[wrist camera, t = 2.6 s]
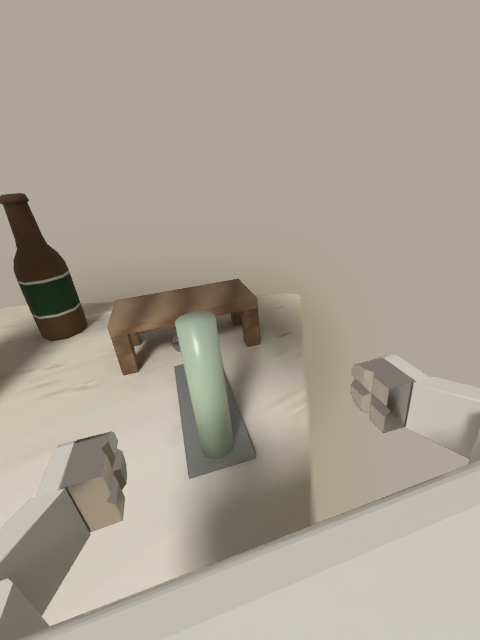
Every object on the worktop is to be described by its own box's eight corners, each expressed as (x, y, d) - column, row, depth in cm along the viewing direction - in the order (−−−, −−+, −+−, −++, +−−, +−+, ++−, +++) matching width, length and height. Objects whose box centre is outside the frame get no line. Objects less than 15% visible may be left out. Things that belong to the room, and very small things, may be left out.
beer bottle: (42, 346, 50) (-25, 196, 40) (42, 330, 57) (-16, 197, 46) (90, 332, 54) (40, 190, 44) (86, 318, 60) (41, 192, 50)
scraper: (255, 458, 26) (241, 322, 20) (189, 479, 25) (154, 340, 19) (217, 361, 41) (203, 266, 35) (175, 371, 40) (152, 274, 34)
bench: (123, 375, 40) (107, 326, 37) (128, 341, 49) (115, 300, 46) (260, 343, 44) (256, 297, 41) (242, 318, 53) (238, 278, 50)
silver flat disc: (175, 357, 44) (173, 349, 43) (172, 340, 49) (170, 333, 48) (211, 349, 45) (210, 341, 44) (205, 333, 50) (204, 326, 49)
